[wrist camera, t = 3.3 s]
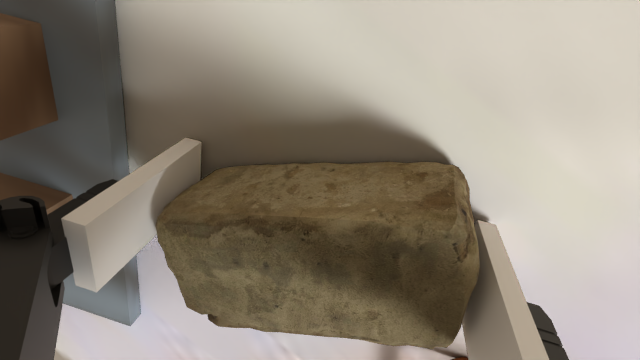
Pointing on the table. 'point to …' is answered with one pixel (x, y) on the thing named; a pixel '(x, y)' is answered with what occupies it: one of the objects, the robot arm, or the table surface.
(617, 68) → the table surface
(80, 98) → the bridge base
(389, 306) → the stone block
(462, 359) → the glasses
